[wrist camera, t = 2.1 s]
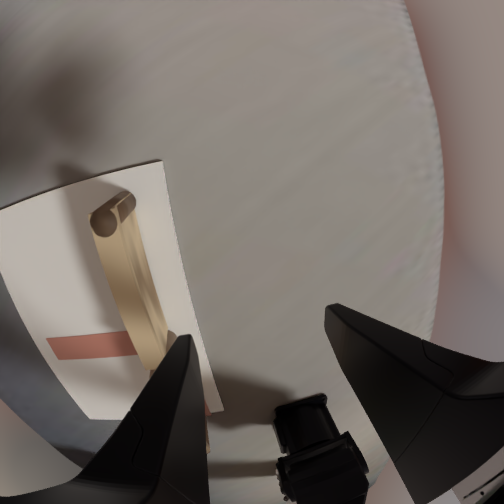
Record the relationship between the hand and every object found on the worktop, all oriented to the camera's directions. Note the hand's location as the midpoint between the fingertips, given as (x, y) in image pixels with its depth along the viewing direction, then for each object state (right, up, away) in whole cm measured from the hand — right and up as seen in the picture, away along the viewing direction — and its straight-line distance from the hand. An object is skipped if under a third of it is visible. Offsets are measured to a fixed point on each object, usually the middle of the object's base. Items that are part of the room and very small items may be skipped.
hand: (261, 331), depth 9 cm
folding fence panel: (-8, +1, +10) cm, 13 cm away
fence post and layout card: (-13, -5, +13) cm, 19 cm away
